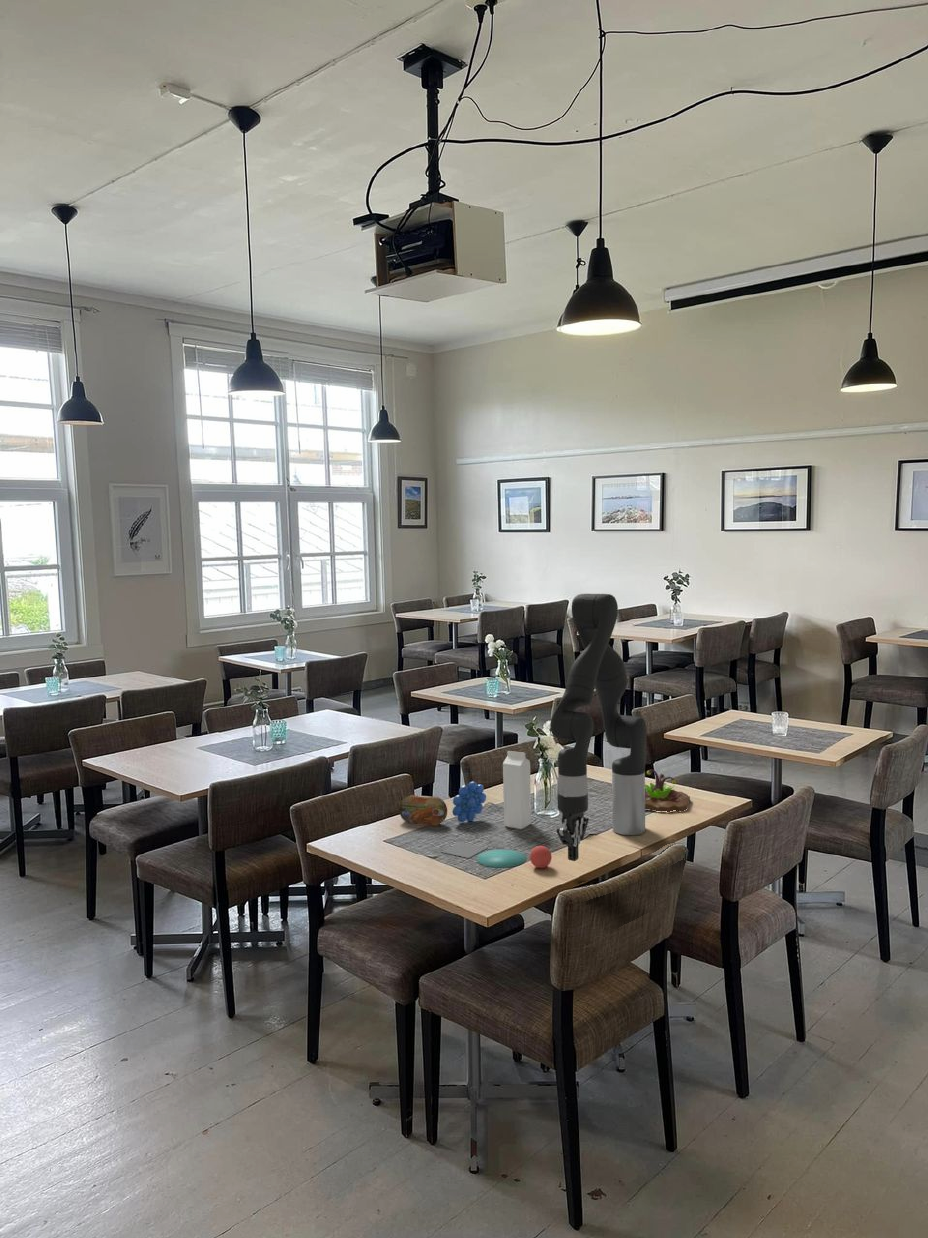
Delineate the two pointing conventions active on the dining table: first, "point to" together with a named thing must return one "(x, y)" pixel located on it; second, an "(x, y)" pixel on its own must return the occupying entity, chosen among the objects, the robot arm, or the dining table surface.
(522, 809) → the milk
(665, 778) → the plant
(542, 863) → the ball
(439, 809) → the tin
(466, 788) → the grapes
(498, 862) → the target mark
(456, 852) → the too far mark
